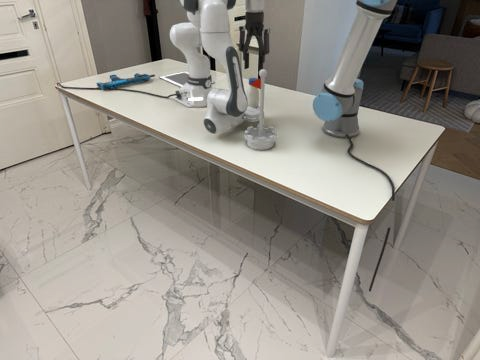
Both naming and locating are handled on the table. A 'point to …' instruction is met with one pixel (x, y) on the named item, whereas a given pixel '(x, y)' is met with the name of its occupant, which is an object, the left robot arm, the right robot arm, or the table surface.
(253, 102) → the bottle
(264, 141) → the flag stand
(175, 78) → the tablet
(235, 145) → the table surface
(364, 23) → the right robot arm
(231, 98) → the left robot arm
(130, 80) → the submachine gun
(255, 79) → the cap
